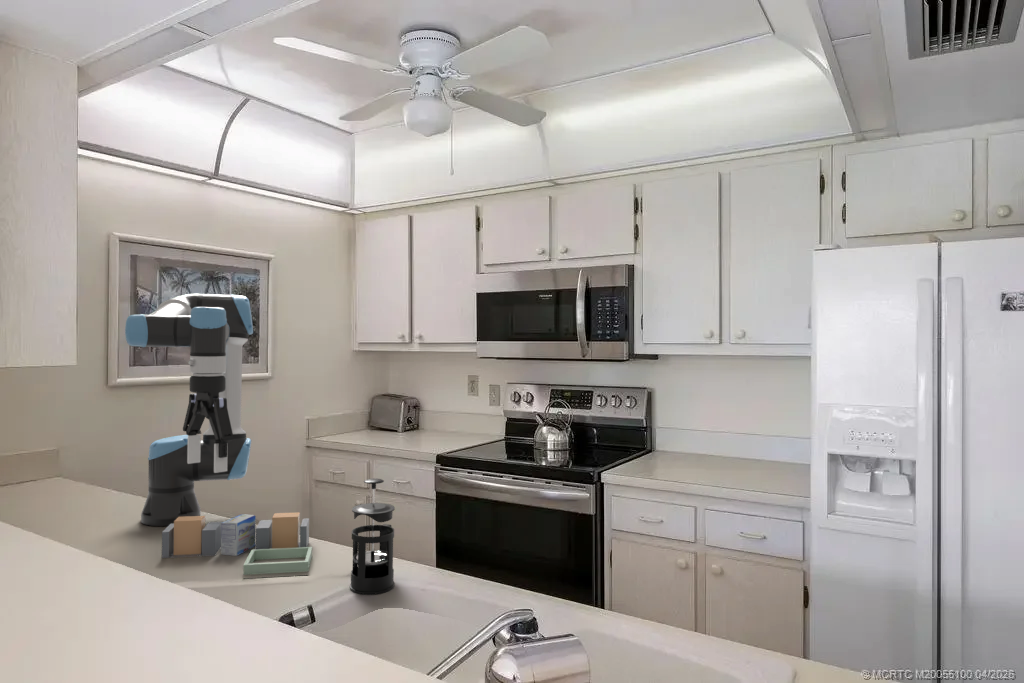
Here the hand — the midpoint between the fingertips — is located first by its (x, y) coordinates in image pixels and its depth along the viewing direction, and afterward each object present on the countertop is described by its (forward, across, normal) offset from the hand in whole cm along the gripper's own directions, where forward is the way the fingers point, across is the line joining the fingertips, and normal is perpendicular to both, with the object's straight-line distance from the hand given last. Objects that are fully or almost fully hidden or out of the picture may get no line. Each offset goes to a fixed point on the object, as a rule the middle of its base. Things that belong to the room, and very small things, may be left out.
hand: (206, 467), depth 155 cm
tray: (+23, +14, +10) cm, 29 cm away
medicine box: (+23, -3, +9) cm, 25 cm away
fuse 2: (+22, +4, +18) cm, 28 cm away
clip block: (+23, -3, +9) cm, 25 cm away
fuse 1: (+22, -9, 0) cm, 24 cm away
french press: (+23, +37, +19) cm, 48 cm away
